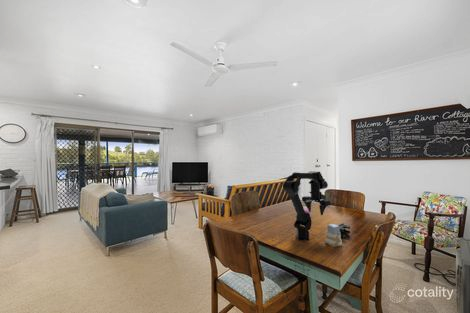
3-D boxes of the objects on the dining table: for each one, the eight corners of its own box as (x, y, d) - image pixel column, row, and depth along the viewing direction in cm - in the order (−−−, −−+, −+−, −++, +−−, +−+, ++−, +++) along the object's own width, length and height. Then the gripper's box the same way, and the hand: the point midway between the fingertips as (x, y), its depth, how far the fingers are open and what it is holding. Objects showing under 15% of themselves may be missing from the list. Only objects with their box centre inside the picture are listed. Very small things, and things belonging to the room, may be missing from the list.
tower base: (333, 247, 112) (333, 241, 112) (325, 242, 118) (325, 237, 118) (341, 245, 114) (341, 239, 114) (333, 241, 120) (333, 235, 120)
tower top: (335, 241, 112) (335, 234, 112) (326, 237, 117) (325, 231, 117) (340, 238, 115) (340, 232, 115) (331, 235, 120) (331, 229, 120)
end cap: (339, 232, 133) (339, 222, 134) (350, 235, 128) (350, 224, 128) (331, 235, 128) (331, 225, 128) (343, 239, 122) (342, 228, 122)
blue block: (334, 234, 113) (334, 227, 113) (327, 231, 117) (327, 224, 117) (339, 233, 115) (339, 226, 115) (332, 230, 119) (332, 223, 119)
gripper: (335, 190, 128) (336, 215, 128) (311, 187, 145) (312, 208, 145) (324, 192, 123) (325, 217, 123) (301, 188, 139) (301, 211, 139)
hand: (315, 213), depth 132 cm, fingers open, 9 cm apart
